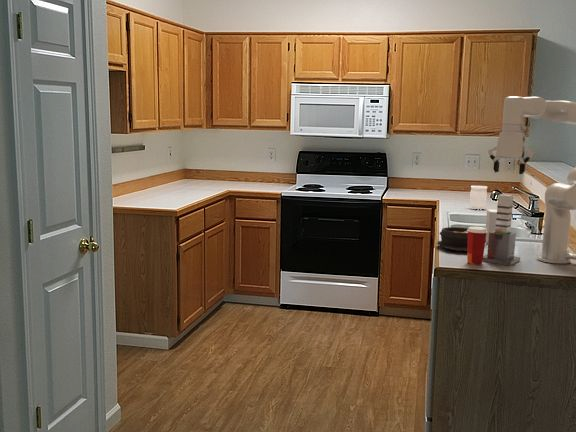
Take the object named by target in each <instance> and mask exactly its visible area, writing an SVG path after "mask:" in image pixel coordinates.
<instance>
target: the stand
mask: <svg viewBox="0 0 576 432" xmlns="http://www.w3.org/2000/svg"><path fill="white" fill-rule="evenodd" d="M516 238H517V233H516V232H512V231H510V234H508V235H507V234H499V233H495V231H492V232H490V233H489V241H488V244H487V252H486V253H487V254H485V255H483V261H482V262H483V263H490V264H495V265H496V264H498V265H503V266H509V267H511V266H513V265H515V264H517V263H519V262H521V257H520V256H515V250H516V249H515V247H516Z"/></svg>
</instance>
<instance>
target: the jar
mask: <svg viewBox="0 0 576 432" xmlns="http://www.w3.org/2000/svg"><path fill="white" fill-rule="evenodd" d="M470 188H471V189H470V192H469V201H470V203H469V204H470V205H471V206H470V209H471V210H473V209H478V210H477V211H480V210H479V209H484V210H485V205H486V203H487V199H488V193H487V192H488V190H487V189H488V186H487V185H479V184H478V185H471V186H470Z"/></svg>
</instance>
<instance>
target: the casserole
mask: <svg viewBox="0 0 576 432" xmlns="http://www.w3.org/2000/svg"><path fill="white" fill-rule="evenodd" d="M468 228H469V227H459V226H457V227H456V226H454V227H453V226H449V227H448V226H447V227H443V228H442V229H441V231H440V232H439V235H440V238H441V240H439V241H437V242H436V244H437V245H439V246H441V247H443V248H445V249H447V250H450V251H454V252H467V247H468V231H467V230H468Z"/></svg>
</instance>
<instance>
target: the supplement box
mask: <svg viewBox="0 0 576 432" xmlns="http://www.w3.org/2000/svg"><path fill="white" fill-rule="evenodd" d="M496 218H497V209H486V218H485V220H486V221H485V228H486V229H487V234H486V241H485V244H487V245H488V241H489V233H490V232H492V231H495V230H496Z"/></svg>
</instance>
